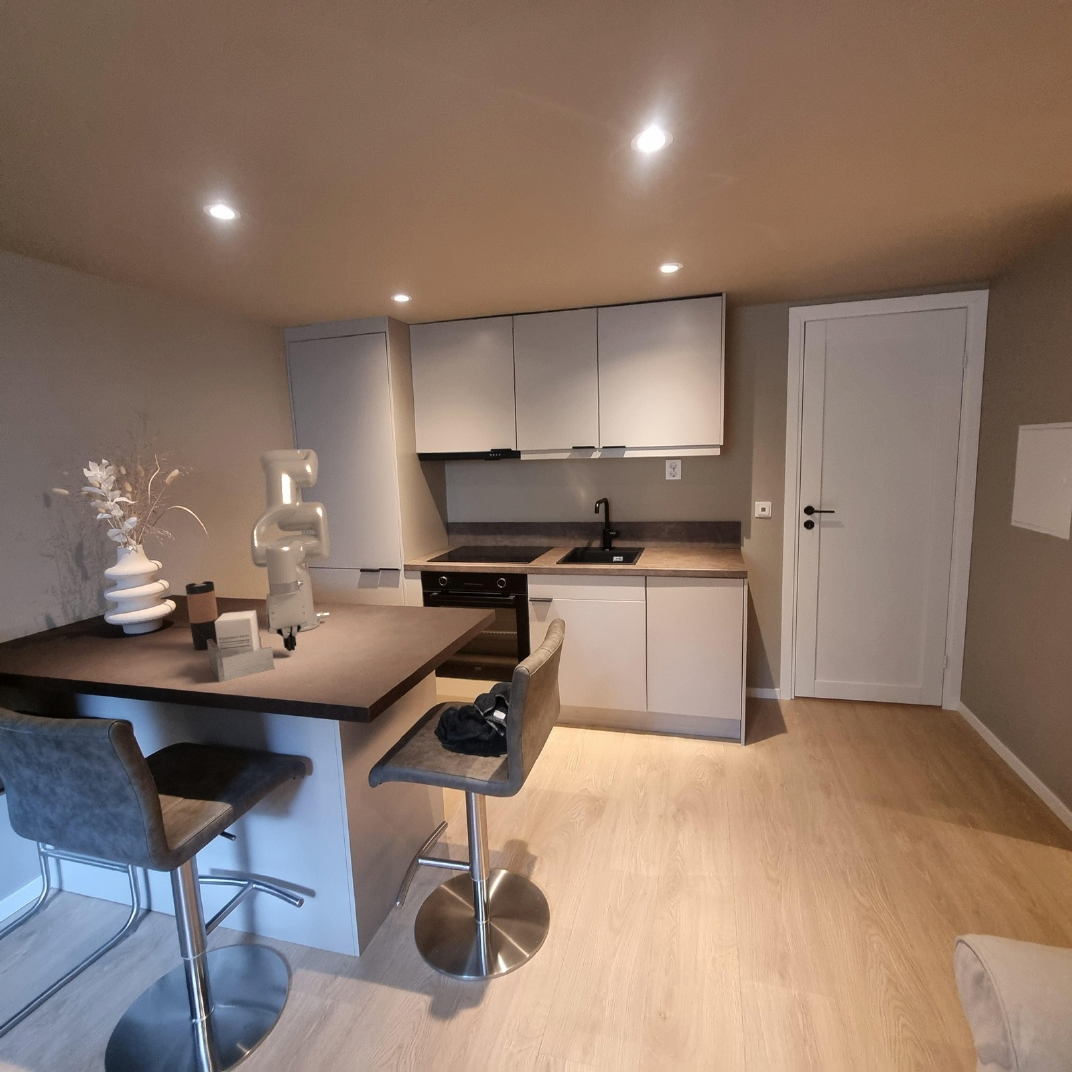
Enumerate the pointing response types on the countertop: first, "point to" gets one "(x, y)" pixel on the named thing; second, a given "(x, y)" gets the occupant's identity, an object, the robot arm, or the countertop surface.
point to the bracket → (239, 662)
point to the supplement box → (237, 632)
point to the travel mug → (202, 613)
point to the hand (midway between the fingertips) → (290, 649)
